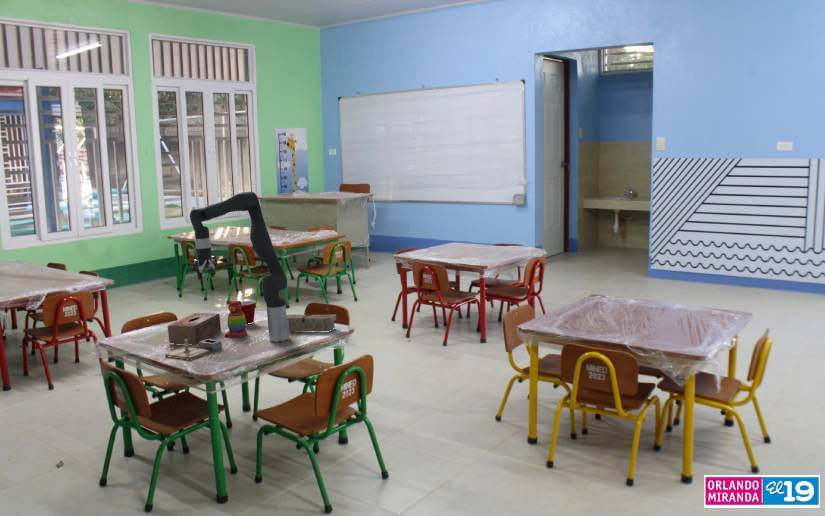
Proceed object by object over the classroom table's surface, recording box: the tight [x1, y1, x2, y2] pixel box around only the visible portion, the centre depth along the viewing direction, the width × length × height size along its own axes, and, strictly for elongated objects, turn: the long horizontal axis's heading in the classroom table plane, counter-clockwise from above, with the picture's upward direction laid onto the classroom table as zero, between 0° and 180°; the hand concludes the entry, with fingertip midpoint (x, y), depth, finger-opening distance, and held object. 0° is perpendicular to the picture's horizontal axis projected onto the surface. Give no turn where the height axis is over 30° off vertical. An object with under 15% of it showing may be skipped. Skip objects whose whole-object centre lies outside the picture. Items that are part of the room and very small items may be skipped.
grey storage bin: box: [198, 338, 223, 353], centre depth 346 cm, size 9×6×4 cm, turn 61°
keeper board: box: [164, 339, 210, 361], centre depth 338 cm, size 16×12×8 cm
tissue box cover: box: [167, 312, 222, 346], centre depth 367 cm, size 26×14×10 cm, turn 167°
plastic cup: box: [241, 299, 257, 324], centre depth 392 cm, size 11×11×12 cm
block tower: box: [286, 313, 337, 331], centre depth 372 cm, size 8×8×29 cm
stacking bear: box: [224, 300, 248, 339], centre depth 369 cm, size 11×10×18 cm
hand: (206, 277), depth 374 cm, fingers open, 8 cm apart
